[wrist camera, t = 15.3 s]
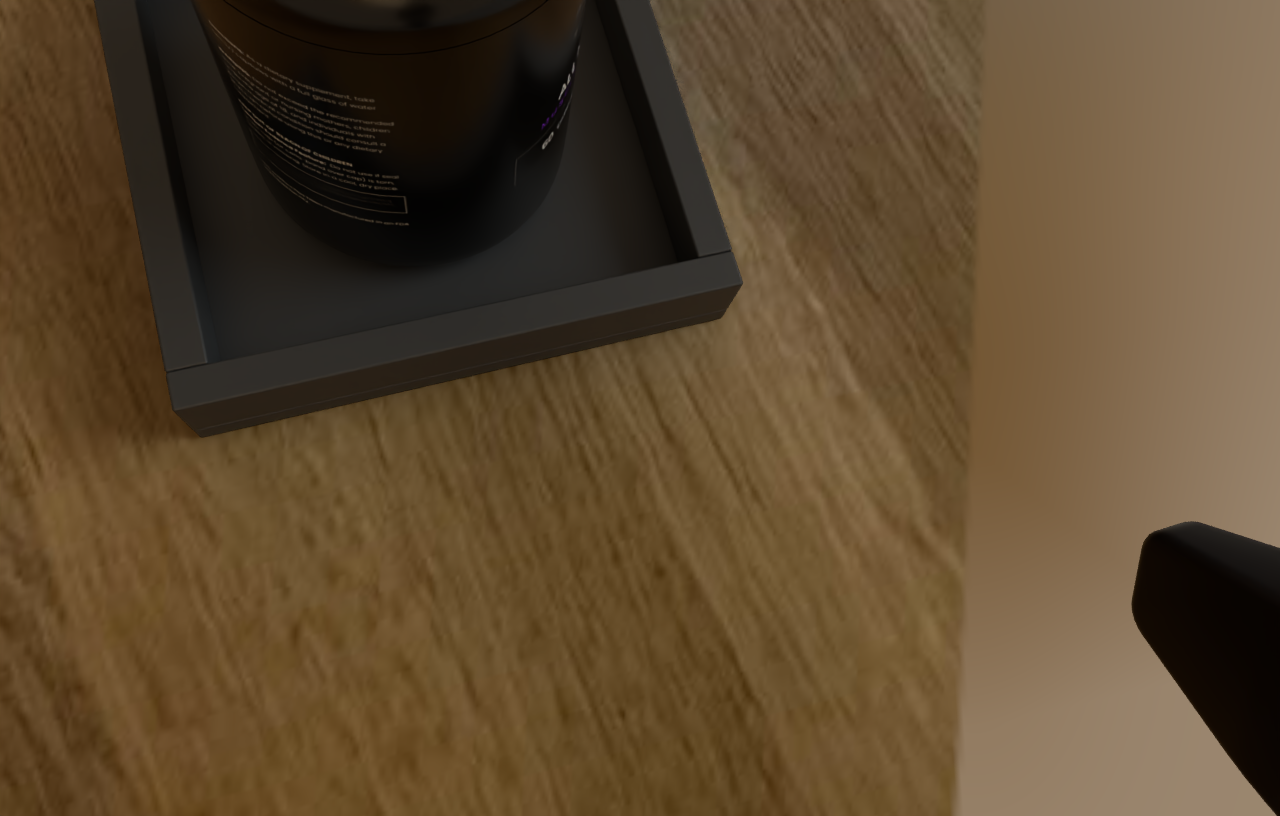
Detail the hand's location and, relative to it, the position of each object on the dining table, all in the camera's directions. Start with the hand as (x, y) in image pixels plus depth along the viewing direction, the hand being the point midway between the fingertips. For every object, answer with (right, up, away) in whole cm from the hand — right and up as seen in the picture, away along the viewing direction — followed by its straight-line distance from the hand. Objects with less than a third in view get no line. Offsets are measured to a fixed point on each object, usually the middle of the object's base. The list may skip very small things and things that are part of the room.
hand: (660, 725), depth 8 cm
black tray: (-5, +9, +16) cm, 19 cm away
